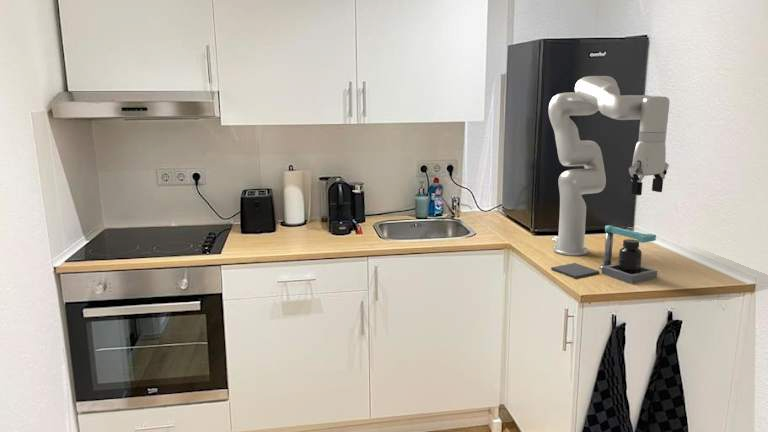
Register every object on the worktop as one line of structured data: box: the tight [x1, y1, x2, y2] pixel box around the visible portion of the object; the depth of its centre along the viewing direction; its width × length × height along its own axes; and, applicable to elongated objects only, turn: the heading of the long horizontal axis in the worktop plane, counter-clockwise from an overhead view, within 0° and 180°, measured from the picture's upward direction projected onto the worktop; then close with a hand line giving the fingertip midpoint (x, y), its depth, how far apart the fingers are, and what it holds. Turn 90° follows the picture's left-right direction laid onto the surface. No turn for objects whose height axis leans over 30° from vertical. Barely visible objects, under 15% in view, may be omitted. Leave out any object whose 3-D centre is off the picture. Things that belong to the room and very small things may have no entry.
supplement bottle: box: [618, 238, 643, 274], centre depth 186 cm, size 7×7×12 cm
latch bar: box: [604, 224, 657, 244], centre depth 186 cm, size 17×6×2 cm, turn 27°
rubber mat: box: [550, 262, 600, 279], centre depth 192 cm, size 11×11×1 cm
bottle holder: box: [601, 262, 658, 285], centre depth 187 cm, size 12×12×2 cm
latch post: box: [598, 232, 614, 271], centre depth 194 cm, size 5×5×13 cm
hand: (646, 193), depth 176 cm, fingers open, 9 cm apart
